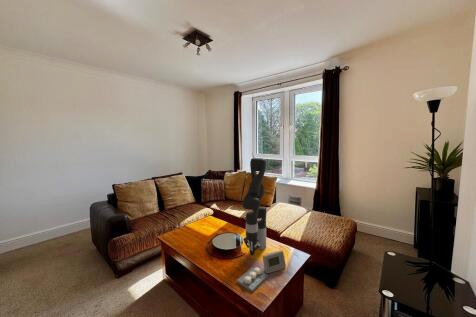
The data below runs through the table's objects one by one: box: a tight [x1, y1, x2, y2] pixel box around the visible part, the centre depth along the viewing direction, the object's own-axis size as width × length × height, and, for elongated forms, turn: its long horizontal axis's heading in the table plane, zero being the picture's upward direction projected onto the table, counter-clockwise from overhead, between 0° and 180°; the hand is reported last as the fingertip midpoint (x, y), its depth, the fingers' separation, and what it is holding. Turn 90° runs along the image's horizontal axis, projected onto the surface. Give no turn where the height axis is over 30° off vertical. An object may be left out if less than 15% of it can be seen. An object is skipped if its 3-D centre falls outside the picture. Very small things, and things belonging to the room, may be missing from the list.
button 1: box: [244, 276, 251, 285], centre depth 120 cm, size 5×5×3 cm
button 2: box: [249, 272, 256, 281], centre depth 123 cm, size 5×5×3 cm
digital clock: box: [262, 250, 287, 275], centre depth 133 cm, size 16×9×11 cm, turn 101°
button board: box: [236, 266, 269, 293], centre depth 123 cm, size 12×16×2 cm
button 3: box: [254, 266, 262, 276], centre depth 127 cm, size 5×5×3 cm
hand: (252, 255), depth 123 cm, fingers closed
